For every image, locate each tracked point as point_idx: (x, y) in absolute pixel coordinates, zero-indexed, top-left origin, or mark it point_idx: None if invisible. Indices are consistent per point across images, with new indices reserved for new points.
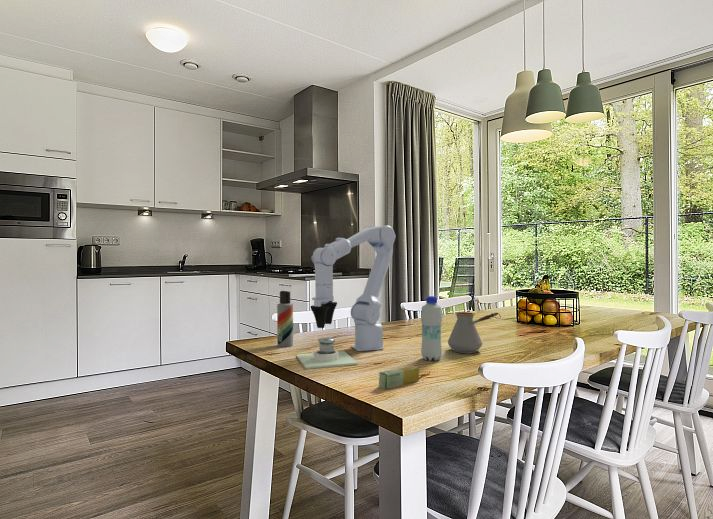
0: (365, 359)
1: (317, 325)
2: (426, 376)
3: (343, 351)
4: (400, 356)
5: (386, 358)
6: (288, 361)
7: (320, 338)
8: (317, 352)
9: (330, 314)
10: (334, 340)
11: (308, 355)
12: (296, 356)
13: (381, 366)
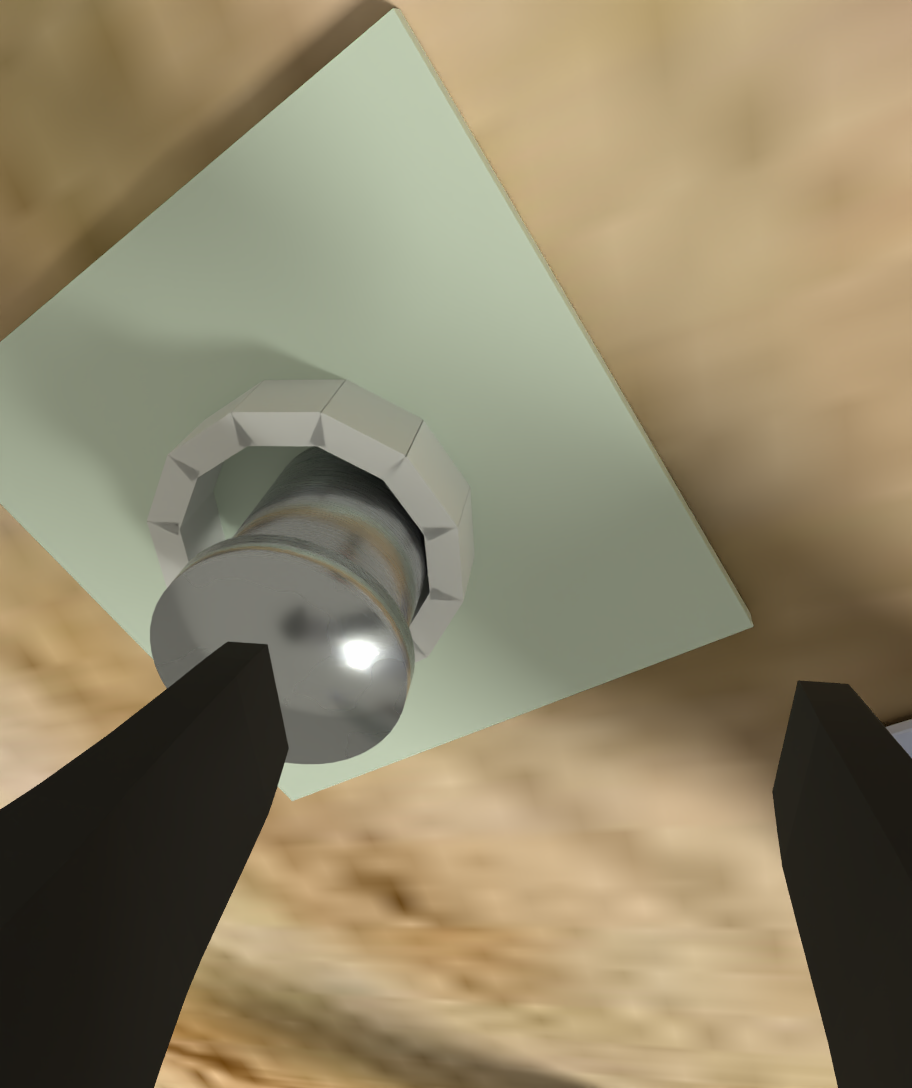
0: (494, 819)
1: (190, 680)
2: (208, 1070)
3: (730, 627)
4: (663, 1013)
5: (571, 941)
6: (89, 23)
7: (271, 582)
8: (311, 439)
9: (841, 1026)
10: (303, 750)
11: (402, 246)
12: (396, 12)
13: (316, 914)
